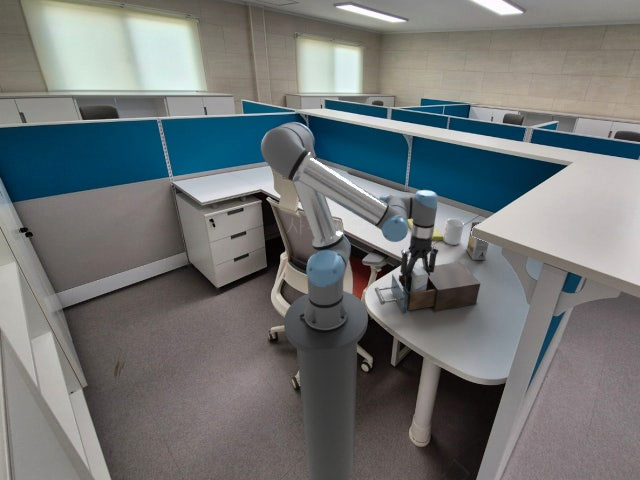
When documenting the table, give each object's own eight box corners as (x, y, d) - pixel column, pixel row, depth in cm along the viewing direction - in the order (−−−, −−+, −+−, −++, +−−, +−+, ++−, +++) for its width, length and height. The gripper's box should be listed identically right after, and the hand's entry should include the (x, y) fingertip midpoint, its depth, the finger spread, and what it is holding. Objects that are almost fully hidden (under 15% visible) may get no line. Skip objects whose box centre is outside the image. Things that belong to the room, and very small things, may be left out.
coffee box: (465, 250, 152) (471, 221, 146) (478, 250, 153) (484, 221, 146) (472, 260, 144) (479, 230, 137) (485, 260, 145) (492, 230, 138)
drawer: (382, 316, 106) (383, 299, 103) (372, 292, 118) (373, 276, 115) (444, 306, 113) (447, 289, 109) (428, 284, 124) (431, 268, 121)
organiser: (434, 311, 111) (437, 290, 107) (418, 286, 124) (421, 267, 120) (475, 303, 116) (480, 283, 112) (456, 280, 129) (460, 261, 125)
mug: (463, 245, 157) (466, 226, 152) (447, 246, 155) (450, 227, 150) (453, 234, 167) (456, 216, 163) (438, 235, 166) (441, 217, 161)
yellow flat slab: (405, 222, 179) (421, 242, 158) (405, 219, 178) (422, 238, 157) (424, 220, 182) (442, 240, 161) (424, 217, 181) (443, 236, 160)
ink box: (425, 299, 112) (429, 273, 107) (413, 302, 111) (416, 276, 106) (415, 286, 120) (418, 261, 115) (403, 288, 118) (406, 263, 113)
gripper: (440, 227, 110) (432, 279, 120) (393, 231, 105) (389, 285, 115) (450, 237, 103) (441, 291, 113) (401, 242, 99) (396, 298, 108)
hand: (415, 288), depth 114 cm, fingers closed on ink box, 5 cm apart
